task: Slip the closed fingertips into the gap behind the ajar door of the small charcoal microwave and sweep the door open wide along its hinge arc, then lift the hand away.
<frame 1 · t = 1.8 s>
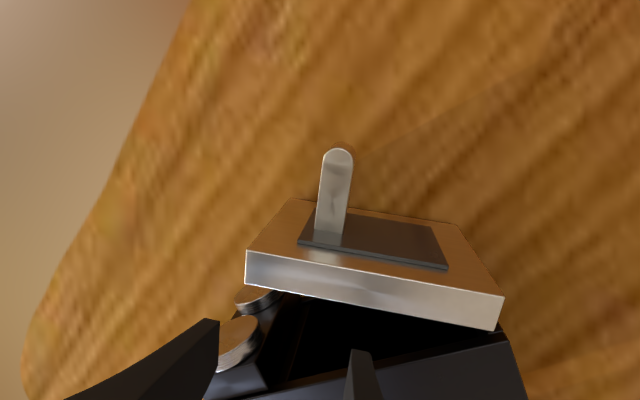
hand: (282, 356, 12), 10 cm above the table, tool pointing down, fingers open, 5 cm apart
microwave: (377, 344, 23), on the table
door: (375, 210, 16), point 4 cm above the table, hinge at 30.0°
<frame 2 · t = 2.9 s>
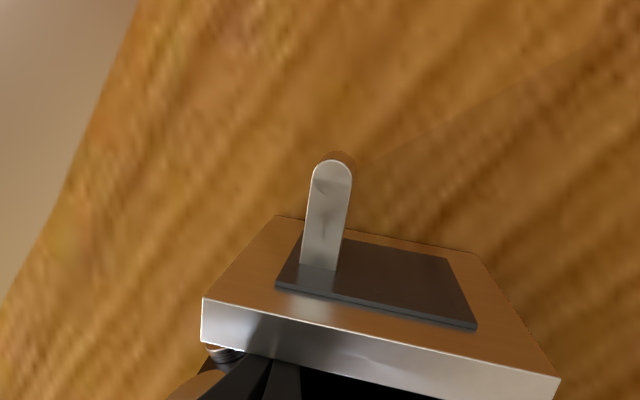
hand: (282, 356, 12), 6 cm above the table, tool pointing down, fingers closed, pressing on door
microwave: (378, 391, 19), on the table
door: (379, 239, 13), point 4 cm above the table, hinge at 31.5°, touching gripper
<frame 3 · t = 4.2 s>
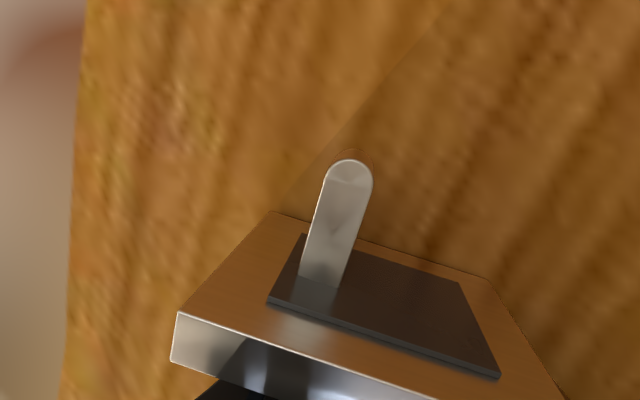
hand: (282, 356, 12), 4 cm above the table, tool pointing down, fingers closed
door: (391, 257, 11), point 4 cm above the table, hinge at 57.3°, touching gripper
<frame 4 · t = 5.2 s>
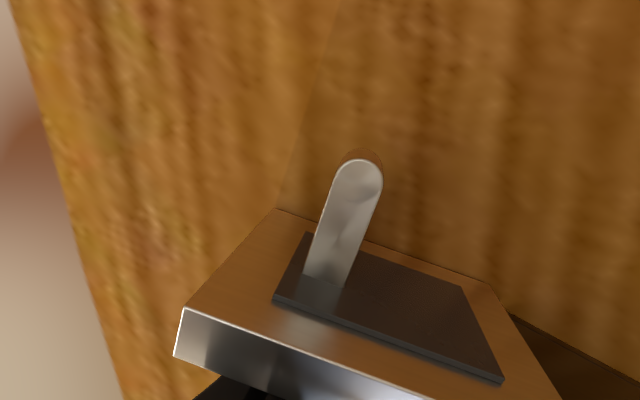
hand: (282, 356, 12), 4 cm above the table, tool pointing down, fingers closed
door: (396, 258, 11), point 4 cm above the table, hinge at 80.7°, touching gripper
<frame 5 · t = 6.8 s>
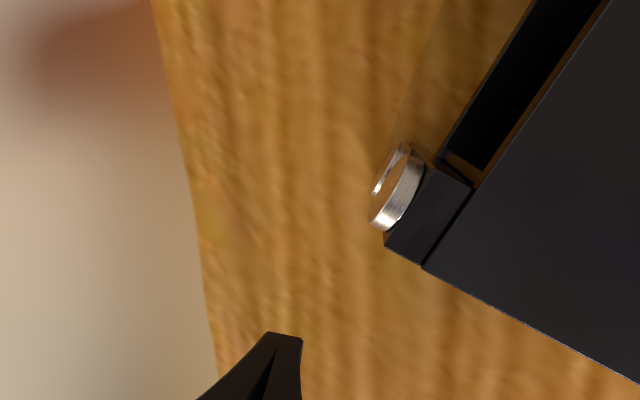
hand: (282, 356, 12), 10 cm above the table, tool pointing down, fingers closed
microwave: (554, 141, 18), on the table
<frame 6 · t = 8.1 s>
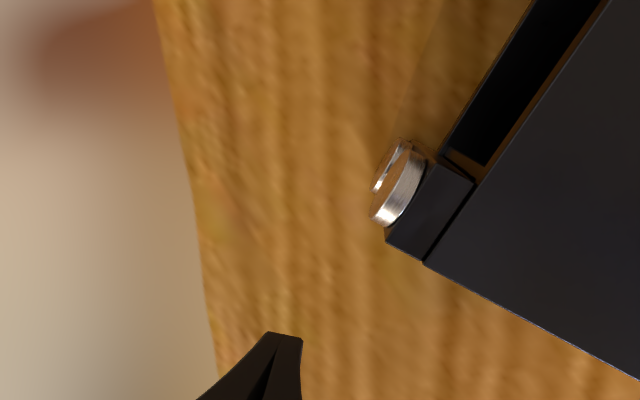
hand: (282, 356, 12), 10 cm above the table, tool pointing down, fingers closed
microwave: (555, 138, 18), on the table
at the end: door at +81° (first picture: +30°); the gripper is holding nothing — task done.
